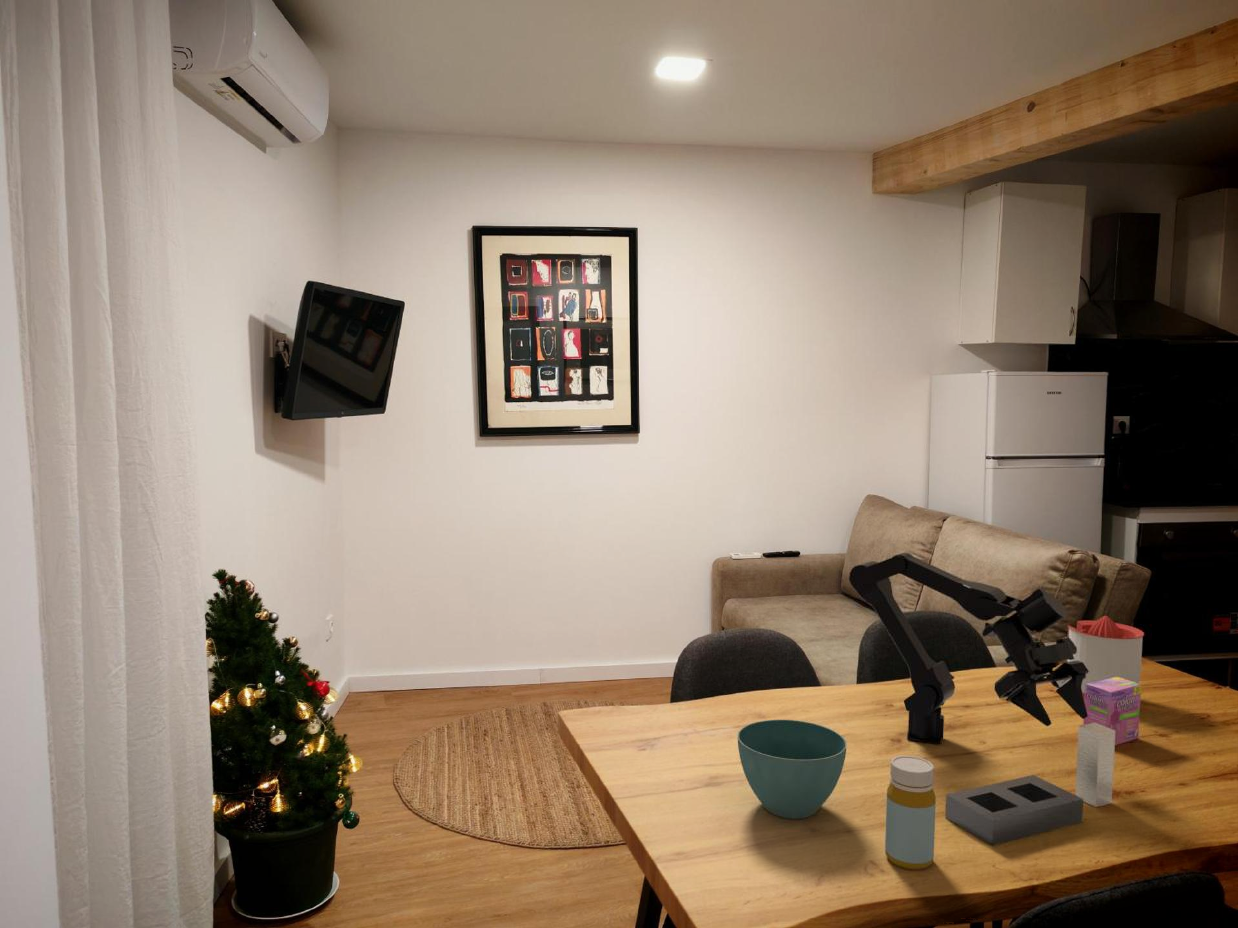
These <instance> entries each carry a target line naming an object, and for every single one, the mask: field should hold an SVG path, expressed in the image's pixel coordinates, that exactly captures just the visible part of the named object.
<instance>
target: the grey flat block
mask: <svg viewBox="0 0 1238 928" xmlns="http://www.w3.org/2000/svg"><path fill="white" fill-rule="evenodd" d="M1083 812H1084V801H1083V799H1082V798H1080V797H1078V796H1076V795H1075V793H1072V792H1070V791H1068V790H1066V789H1064V788H1062V787H1060V786H1057V785H1055V784H1054V783H1051V782H1049V781H1047V780H1045V779H1042V778H1040V777H1038V776H1036V775H1035V774H1031V775H1028V776H1027V775H1026V776H1023V777H1019V778H1018V777H1017V778H1014V779H1009V780H1005V781H1000V782H995V783H991V784H988V785H983V786H978V787H974V788H969V789H966V790H965V789H964V790H960V791H956V792H952V793H947V794H945V815H944V816H945V819H947V820H948V821H950V822H952V823H953V824H955V825H957V826H959V827H960V828H962V829H963V828H964V829H963V830H965V831H967V832H969V833H970V834H972V835H974V836H975V837H977V838H979V839H980V840H982V841H983V842H986V843H987V844H988V845H990V846H992V847H993V846H997V845H1000V844H1005V843H1008V842H1012V841H1016V840H1020V839H1023V838H1027V837H1028V838H1029V837H1031V836H1035V835H1038V834H1043V833H1047V832H1051V831H1054V830H1057V829H1058V830H1059V829H1063V828H1065V826H1066V827H1070V826H1073V825H1077V824H1080V823H1083V817H1084V815H1083V814H1084V813H1083ZM1069 825H1070V826H1069ZM1050 830H1051V831H1050Z"/></svg>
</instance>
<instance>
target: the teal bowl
mask: <svg viewBox="0 0 1238 928" xmlns="http://www.w3.org/2000/svg"><path fill="white" fill-rule="evenodd" d="M847 745H848V744H847V740H846V739H845V738H844V737H843V736H842V735H841V734H840V733H838V732H837V731H835V730H833V729H831V728H830V727H827V726H824V725H820V724H817V723H813V722H809V721H805V720H804V721H803V720H795V719H765V720H761V721H756V722H752V723H750V724H747V725H744V726H743V727H741V728H740V729H739V731H738V733H737V747H738V753H739V759H740V763H741V767H742V769H743V773H744V775H745V778H746V780H747V783H748V785H749V786H750V787H749V788H751V790H752V792H753V793H754V795H755V796H756V798H757V799H758V800H759V802H760V803H761V804H762V806H763V807H764V808H765V809H766V810H767V811H768V812H769V813H771V814H773V815H774V816H777V817H780V818H785V819H791V820H796V819H805V818H808V817H810V816H812V815H813V814H815V813H816V812H817V811H818V810H819V809H820V808H821V807H822V806H823V805H824V804H825V803H826V802H827V800H828V799H829V797H830V796H831V794H832V793H833V792H834V790H835V788H836V786H837V784H838V781H839V780H840V777H841V775H842V771H843V768H844V765H845V761H846V754H847V747H848V746H847Z"/></svg>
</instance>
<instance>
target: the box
mask: <svg viewBox="0 0 1238 928" xmlns="http://www.w3.org/2000/svg"><path fill="white" fill-rule="evenodd" d="M1142 687H1143V686H1142V684H1140V682H1139V683H1136V682H1133V681H1129V680H1126V679H1123V678H1119V677H1113V678H1109V679H1105V680H1101V681H1097V682H1093V683H1089V684H1086V686H1085V701H1084V703H1085V706H1086V710H1087V714H1088V717H1087V718H1085V719H1083V720H1082V721H1083V724H1082V725H1086V724H1090V723H1097V724H1100V725H1102V726H1105V727H1107V728H1110V729H1113V730H1115V746H1117V745H1121V744H1124V743H1127V742H1131V741H1135V740H1138V739H1139V730H1140V729H1139V726H1140V714H1141V713H1140V712H1141V697H1142V696H1141V695H1142Z"/></svg>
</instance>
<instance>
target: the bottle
mask: <svg viewBox="0 0 1238 928" xmlns="http://www.w3.org/2000/svg"><path fill="white" fill-rule="evenodd" d="M934 769H935V768H934V764H933V763H931V762H930V761H929V760H927V759H925V758H921V757H918V756H913V755H898V756H896V757H893V758H892V759H891V761H890V773H889V774H890V778H889V779H890V781H889V784H888V787H887V789H886V805H885V806H886V807H885V808H886V812H885V837H884V838H885V839H884V849H885V850H884V851H885V852H884V853H885V855H886V857H887V858H888V860H889V861H890V862H891V863H892V864H894V866H896V867H897V866H898V867H900V868H902V869H905V870H910V871H912V870H913V871H921V870H924V869H927V868H928V867H930V865H932V864H933V862H934V856H935V832H936V831H935V830H936V804H937V803H936V802H937V801H936V794H935V791H934V774H935V771H934Z"/></svg>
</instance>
